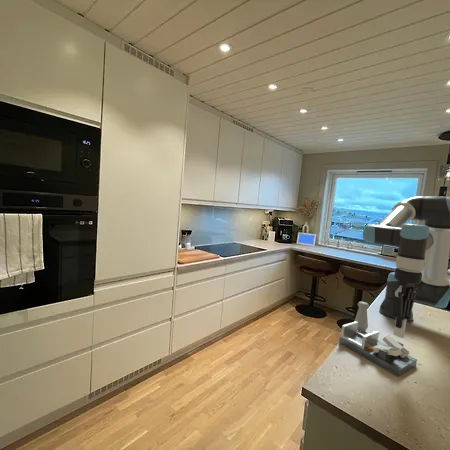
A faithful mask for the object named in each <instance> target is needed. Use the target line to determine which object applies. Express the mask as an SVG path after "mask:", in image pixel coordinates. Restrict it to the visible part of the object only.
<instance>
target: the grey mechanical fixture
mask: <svg viewBox="0 0 450 450" xmlns="http://www.w3.org/2000/svg"><path fill="white" fill-rule="evenodd" d="M357 327H358V322H356V321H355V322H354V321H352V322H349V323H345V324H343V325H341V332H340V336H339V340H338V343H339V344H340V343H341V344H340V345H342V346H344V347H345V348H347V349H349V350H351V351H353V352H355V353H356V354H358V355H359V356H361V357H363V358H365V359H367V360H369V361H371V362H372V363H374V364H375V365H377V366H379V367H380V368H382V369H384V370H386V371H388V372H389V373H392V374H393V375H395V377H400V376H402V375H404V374H405V373H408V372H409V371H410V370H413V368H415V367H417V364H418V363H417V362H418V359H417V358H415V357H412V356H411V355H410V354H409V355H408V356H406V357H404V358H402V357H401V356H400V355H398V356H393V355H388V354H387V351H385V350H383V349H381V348H379V353H377V352H373V347H374V346H376V345H381V346H387V347H395V346H393V345H390V344H389V345H387V344H386V343H385V342H382V341H380V340H379V335H380V334H379V333H380V332H379V330H375V331H372V332H369V333H364V332H360V331H357ZM396 341H397V340H396ZM397 342H398V343H399V344H400V345H401V346H403V347H404V343H401V342H399V341H397ZM396 348H397V347H396Z"/></svg>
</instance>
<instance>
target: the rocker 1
mask: <svg viewBox="0 0 450 450" xmlns="http://www.w3.org/2000/svg"><path fill="white" fill-rule="evenodd" d="M379 348H381V349H383V350H385V351H387V354H388V355H393V356H398V355H400V354H402V352H401V349H399V348H396V347H387V346H381V345H376V346H374V347H373V352H377V353H379Z"/></svg>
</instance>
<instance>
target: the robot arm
mask: <svg viewBox="0 0 450 450" xmlns="http://www.w3.org/2000/svg"><path fill="white" fill-rule="evenodd" d="M410 221H420V222H424V224H416V223H415V224H413V223H407V222H410ZM362 238H363V240H364V241H363V242H365V243H369V244H374V245H381V246H388V247H394V248H398V249H397V254H396V255H397V256H396V257H395V260H396V262H395V268H394V272H390V273H388V277H387V279H386V287H385V295H384V299H383V300H382V302H381V304H380V305H379V313H381V314H382V315H384V316H385V317H388V318H391V319H394V320H395V321H394V329H393V335H394V336H395V337H397V338H400V339H404V338H405V333H406V325H407V322H411V321H413V319H414V312H413V307H414V302H418V303H422V304H425V305H429V306H432V307H436V308H440V309H446V308H447V306H448V304H449V302H450V280H449V279H447V275H448V267H449V266H448V265H449V258H450V196H424V195H418V196H412V197H409V198H405V199H402V200H401V201H399V202H397V203H396V204H394V205H393V207H392V209H391V211H390V212H389V213H388V214H387V215H386V216H385V217H384V218H382V220H380V221H379V222H378V223H377V224H373V223H371V224H365V226H364V228H363V232H362ZM422 272H423V273H422Z"/></svg>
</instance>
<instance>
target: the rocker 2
mask: <svg viewBox="0 0 450 450" xmlns="http://www.w3.org/2000/svg"><path fill="white" fill-rule="evenodd" d="M382 341H383V343H384V344H386V345H389V344H390V345H393V346H395V347H397V348H399V349H401V352H402V354H400V356H401V357H402V358H404V357H406V356H408V355H409V356H410V354H411V353H410V351H409V350H407V349H406V348H405V346H404V345H403V346H401V345H400V344H399V343H398V342H399V341H398V342H397V340H396V339H395V338H394V337H392V336H391V335H386V336H384V337H383V338H382Z"/></svg>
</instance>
